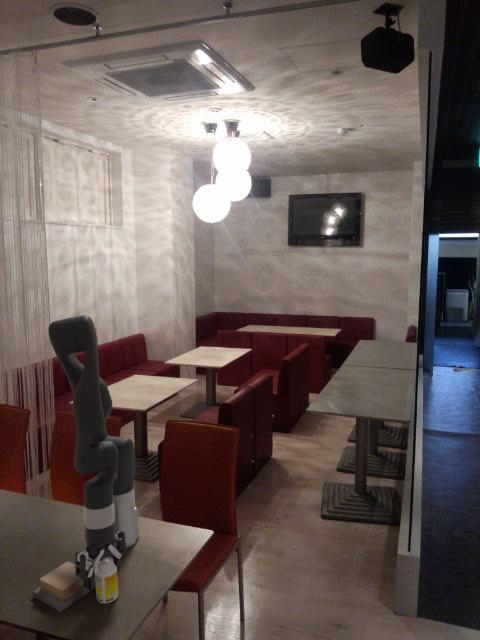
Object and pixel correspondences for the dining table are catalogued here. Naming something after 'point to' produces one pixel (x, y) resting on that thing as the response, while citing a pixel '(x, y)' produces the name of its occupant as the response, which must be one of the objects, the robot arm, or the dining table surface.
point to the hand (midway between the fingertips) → (102, 579)
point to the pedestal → (61, 587)
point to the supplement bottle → (106, 581)
